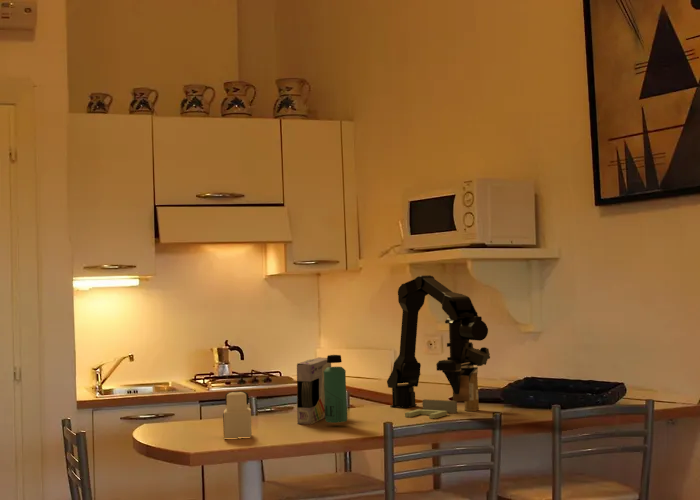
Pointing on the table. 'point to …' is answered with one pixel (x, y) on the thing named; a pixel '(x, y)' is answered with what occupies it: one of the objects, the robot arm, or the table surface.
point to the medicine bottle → (237, 415)
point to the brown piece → (462, 390)
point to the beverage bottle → (335, 391)
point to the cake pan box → (311, 390)
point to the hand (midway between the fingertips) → (461, 393)
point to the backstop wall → (440, 405)
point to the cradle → (426, 413)
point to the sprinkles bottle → (473, 393)
